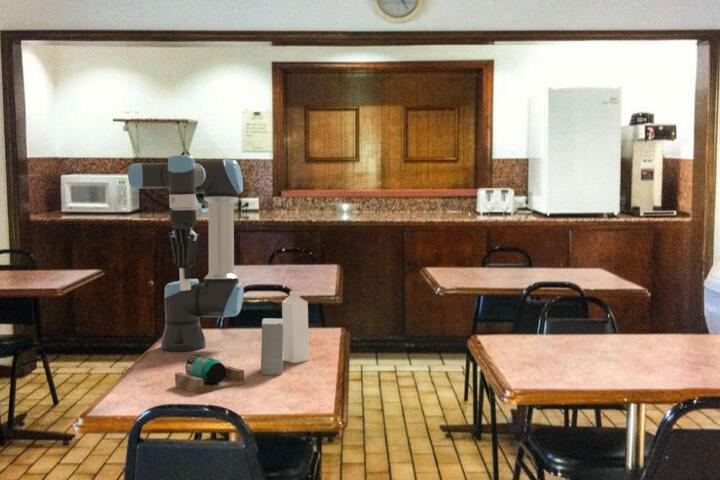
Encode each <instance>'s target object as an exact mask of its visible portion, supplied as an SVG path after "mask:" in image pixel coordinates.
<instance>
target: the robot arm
mask: <svg viewBox="0 0 720 480" xmlns="http://www.w3.org/2000/svg"><path fill="white" fill-rule="evenodd" d="M127 171H128V172H127V179H128V183H129V185H130V187H131V188H132V189H168V194H169V198H168V201H169V209H171V210H169V222H170V224H171V223H172V224H173V228H172V232H171V231H169V232H168V237H169V241H170V246H171V253H172V259H173V264H174V265H175V266H177V268H178V272H179V273H178V274H179V275H178V276H179V280H177V281H172V282H169V283H167V284H166V285H165V287H164V296H163V298H164V316H165V317H164V318H165V319H164V320H165V325H164V326H165V327H164V331H163V334H162V338H161V341H160V348H161V350H163V351H167V352H191V351H196V350H201V349H203V348H206V346H207V345H206V342H207V341H206V337H205V334H204V332H203V329H202V327H201V320H200V318H230V317H231V318H232V317H233V318H234V317H236V316H238V315H239V314H240V312H241V310H242V307H243V306H242V305H243V301H244V292H245V291H244V284H243V283H242V282H239V277H238V275H237V274H236V273H235V239H234V238H235V234H234V232H235V229H234V228H235V225H234V221H235V220H234V219H235V218H234V217H235V215H234V213H235V211H234V209H235V208H234V204H235V202H236V201H237V200H238V199H239V194H243V190H244V182H243V174H242V170H241V167H240V165H239V163H238V161H237V160H235V159H227V158H226V159H225V158H221V159H219V158H218V159H195V157H194V156H193V155H170V156H169V157H168V159H167V162H155V163H154V162H150V163H149V162H148V163H147V162H145V163H144V162H143V163H142V162H139V163H132V164H130V166H129V167H128V170H127ZM196 194H203V199H204V200H205V201H206V202H207V204H208V206H207V207H208V208H207V209H208V272H207V273H208V274H207V275H206V276H205V277H204V278H203V280H204V281H203V282H201V283H200V281H199V279H198V278H192V275H191V274H192V273H191V272H192V271H191V268H192V267H194V266H196V262H197V253H198V252H197V251H198V243H199V238H200V234H199V233H196V232H195V227H194V223H196V222H197V210H196V209H195V208H197V196H196Z"/></svg>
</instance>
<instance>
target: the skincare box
mask: <svg viewBox="0 0 720 480" xmlns="http://www.w3.org/2000/svg"><path fill="white" fill-rule="evenodd" d="M260 350H261V351H260V352H261V353H260V354H261V355H260V375H261V376H275V375H276V376H277V375H278V376H279V375H282V374H283V365H284V364H283V362H284V360H283V319H282V318H271V317H270V318H268V317H267V318H262V321H261V349H260Z"/></svg>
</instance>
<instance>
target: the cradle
mask: <svg viewBox="0 0 720 480" xmlns="http://www.w3.org/2000/svg"><path fill="white" fill-rule="evenodd" d="M223 365H224V366H225V369H226V375H225V377H224V379H223V380H222V381H221V382H219V383H216V384H208V383H205V382H204V381H203V379H202V378H198V377H195V376H191V375H188V374H187V373H184V372H176V373H174V379H175V380H174V381H175V385H174V386H175V388H179V389H181V390H185V391H188V392H192V393H194V394H205V393H207V392H212V391H217V390H222V389H225V388H230V387H234V386H241V385H243V384H245V382H246V381H245V369H239V368H237V367H232V366H229V365H226V364H223Z"/></svg>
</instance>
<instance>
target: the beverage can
mask: <svg viewBox="0 0 720 480" xmlns="http://www.w3.org/2000/svg"><path fill="white" fill-rule="evenodd" d="M224 365H225V364H223V363H222V362H221V360H218V359H216V358H212V357H208V356H204V355H201V354H194V355H191V356H190V357H189V358H188V359H187V361H186V363H185V374H188V375H191V376H195V377H198V378H202V379H203V381H204V382H205V383H208V384H216V383H219V382H221V381H222V380H223V379H224V377H225V375H226V369H225V366H224Z"/></svg>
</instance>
